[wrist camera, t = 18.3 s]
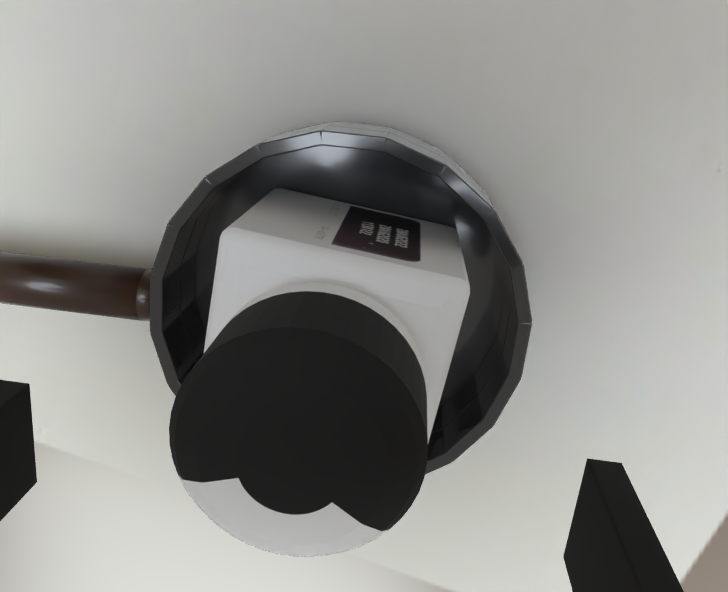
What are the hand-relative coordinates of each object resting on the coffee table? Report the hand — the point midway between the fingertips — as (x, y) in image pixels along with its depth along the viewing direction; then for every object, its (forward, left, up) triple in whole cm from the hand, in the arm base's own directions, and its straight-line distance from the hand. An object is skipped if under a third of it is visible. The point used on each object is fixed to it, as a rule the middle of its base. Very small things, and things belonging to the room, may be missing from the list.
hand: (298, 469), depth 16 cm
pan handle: (+13, 0, -11) cm, 17 cm away
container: (0, 0, -13) cm, 13 cm away
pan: (0, 0, -14) cm, 14 cm away
